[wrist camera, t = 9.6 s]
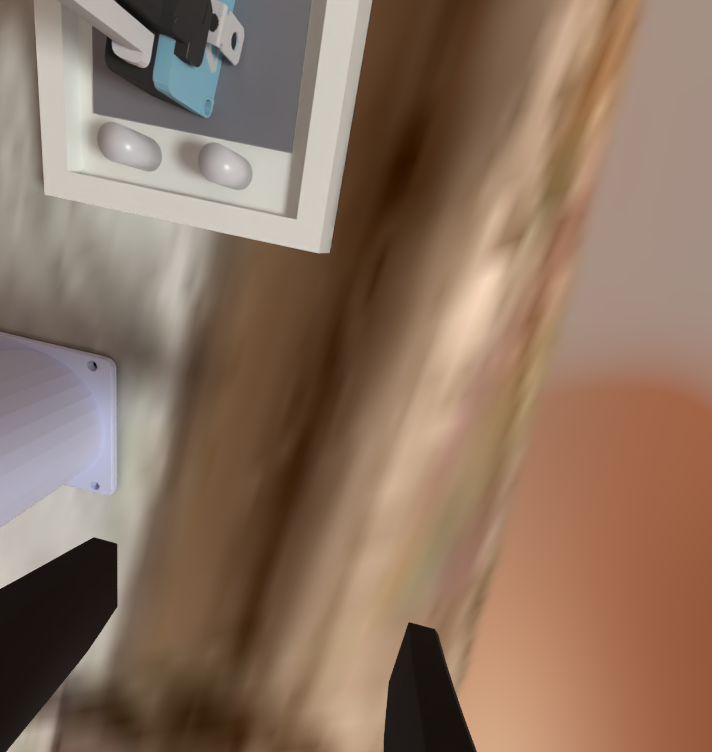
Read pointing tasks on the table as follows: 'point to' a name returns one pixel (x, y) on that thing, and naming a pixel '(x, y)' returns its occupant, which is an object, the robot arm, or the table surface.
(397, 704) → the robot arm
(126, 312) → the table surface
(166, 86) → the push button
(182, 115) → the pin tray
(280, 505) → the table surface
